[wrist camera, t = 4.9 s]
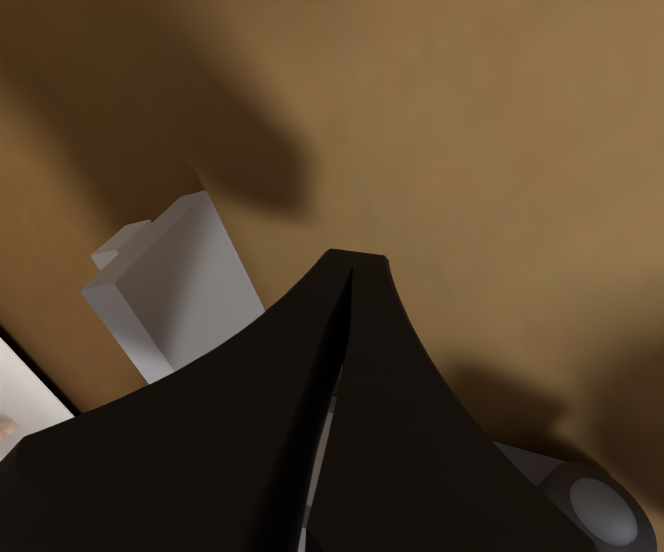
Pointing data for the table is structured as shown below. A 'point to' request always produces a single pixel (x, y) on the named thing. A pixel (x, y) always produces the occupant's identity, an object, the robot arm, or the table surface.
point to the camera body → (559, 497)
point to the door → (172, 287)
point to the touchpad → (24, 402)
